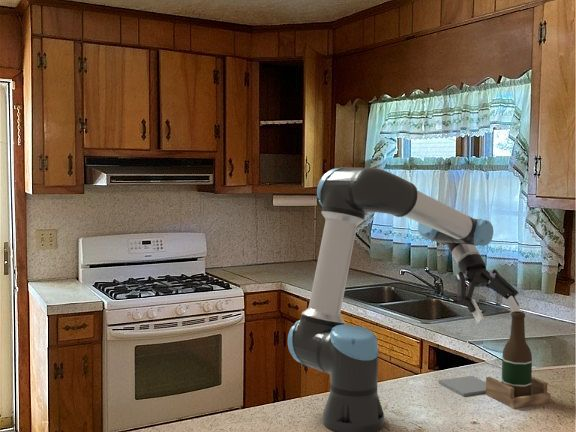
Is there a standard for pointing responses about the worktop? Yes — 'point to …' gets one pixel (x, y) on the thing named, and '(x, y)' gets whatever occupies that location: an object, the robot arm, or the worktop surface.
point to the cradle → (506, 397)
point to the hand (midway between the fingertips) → (500, 319)
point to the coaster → (465, 385)
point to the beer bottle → (517, 358)
